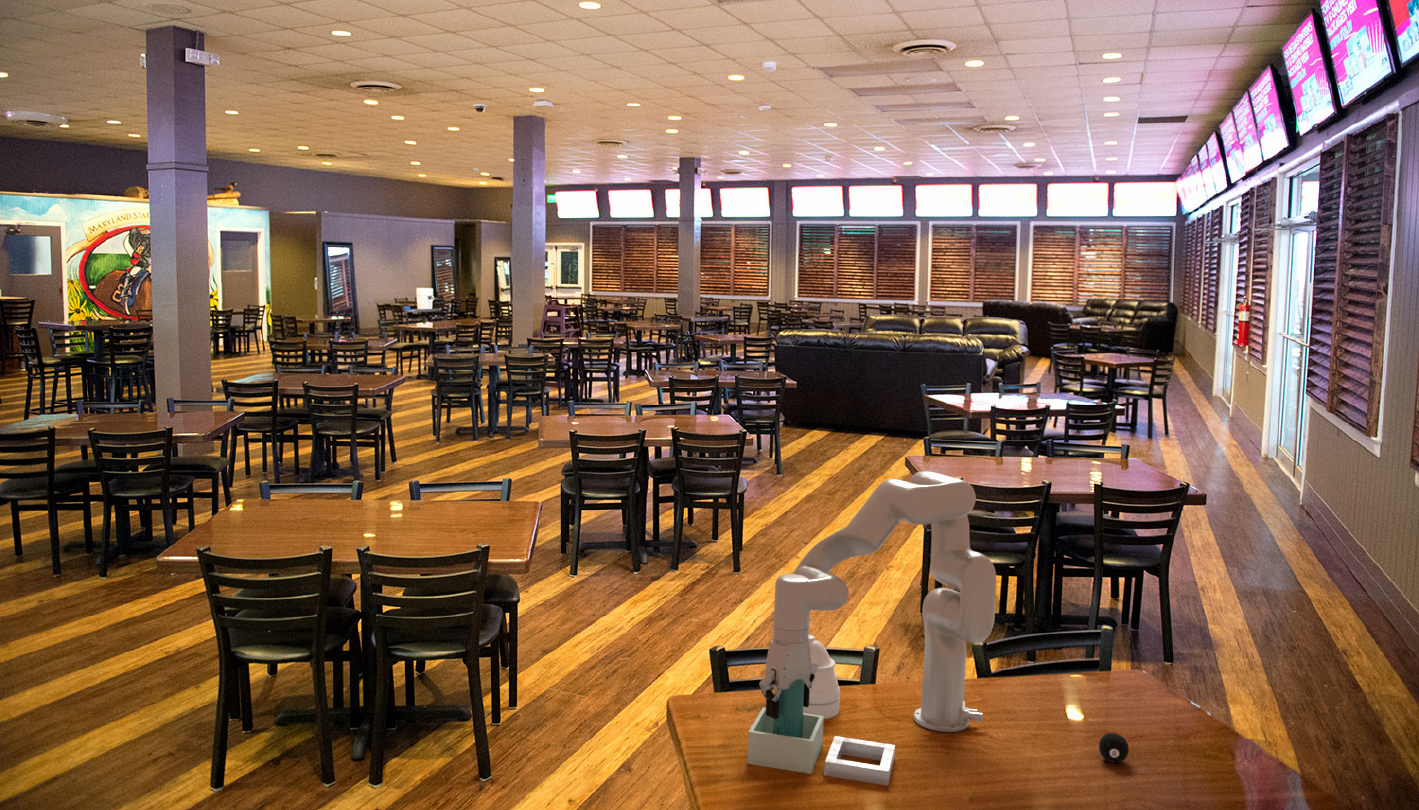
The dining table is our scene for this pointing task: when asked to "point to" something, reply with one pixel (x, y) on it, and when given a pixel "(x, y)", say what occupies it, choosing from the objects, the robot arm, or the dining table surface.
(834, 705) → the honey pot
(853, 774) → the socket frame
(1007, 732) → the dining table surface
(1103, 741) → the billiard ball
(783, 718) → the beverage bottle
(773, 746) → the bin
